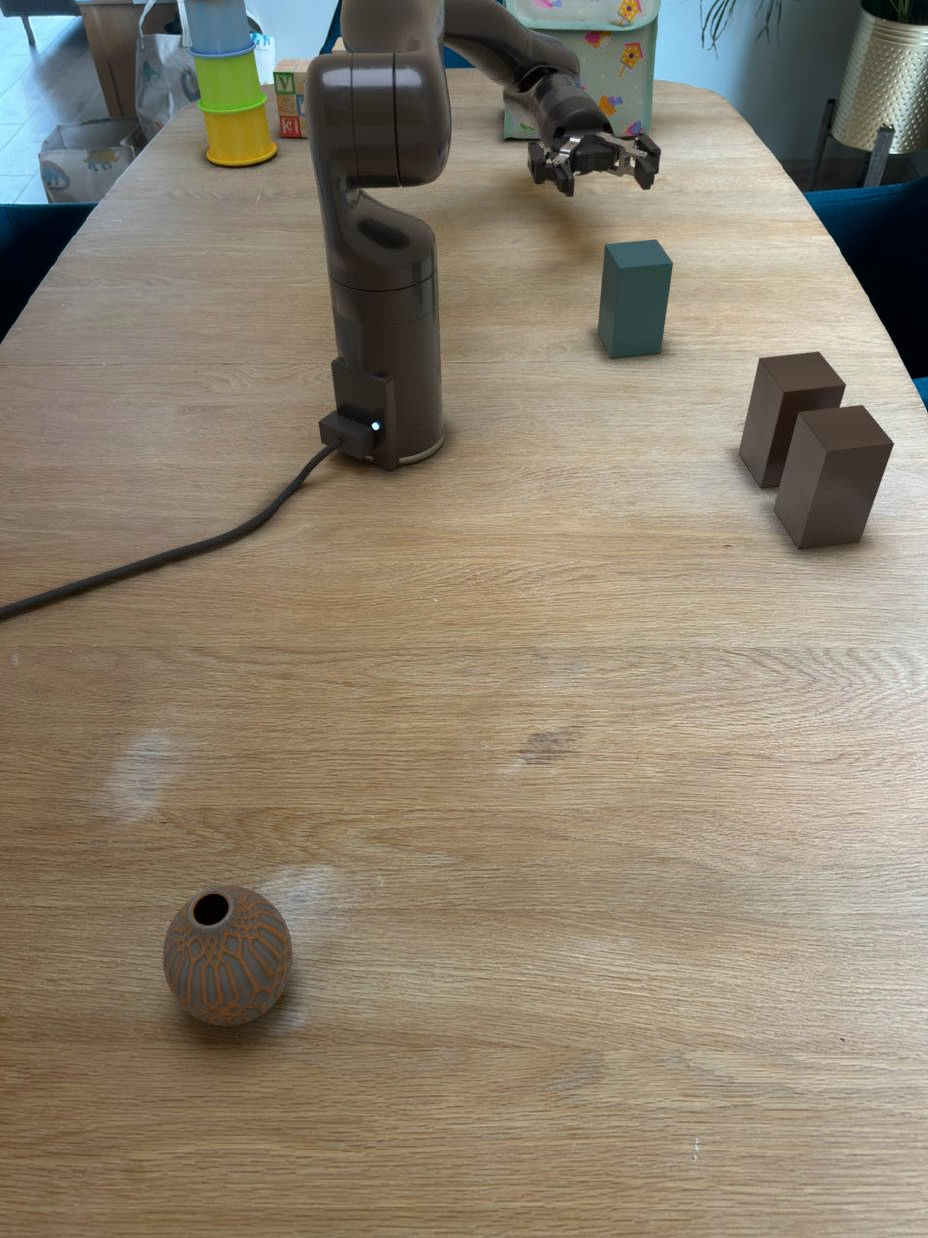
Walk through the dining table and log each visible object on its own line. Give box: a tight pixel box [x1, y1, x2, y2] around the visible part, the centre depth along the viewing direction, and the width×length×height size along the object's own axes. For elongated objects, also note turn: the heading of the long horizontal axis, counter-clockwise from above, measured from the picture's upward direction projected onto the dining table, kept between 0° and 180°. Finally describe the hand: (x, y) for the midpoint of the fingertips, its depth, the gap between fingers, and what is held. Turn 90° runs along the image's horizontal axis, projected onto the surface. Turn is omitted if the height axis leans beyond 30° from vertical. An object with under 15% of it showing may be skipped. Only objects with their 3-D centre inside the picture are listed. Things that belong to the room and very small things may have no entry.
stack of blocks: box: [272, 36, 347, 138], centre depth 149 cm, size 21×6×12 cm, turn 84°
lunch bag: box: [502, 0, 662, 140], centre depth 144 cm, size 23×16×27 cm
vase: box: [162, 885, 294, 1027], centre depth 55 cm, size 7×7×9 cm
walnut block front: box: [773, 404, 895, 550], centre depth 82 cm, size 6×6×10 cm
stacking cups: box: [183, 0, 278, 167], centre depth 135 cm, size 10×10×35 cm
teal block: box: [596, 238, 674, 359], centre depth 104 cm, size 6×6×10 cm
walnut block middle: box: [738, 351, 847, 489], centre depth 88 cm, size 6×6×10 cm
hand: (610, 184), depth 107 cm, fingers open, 8 cm apart
